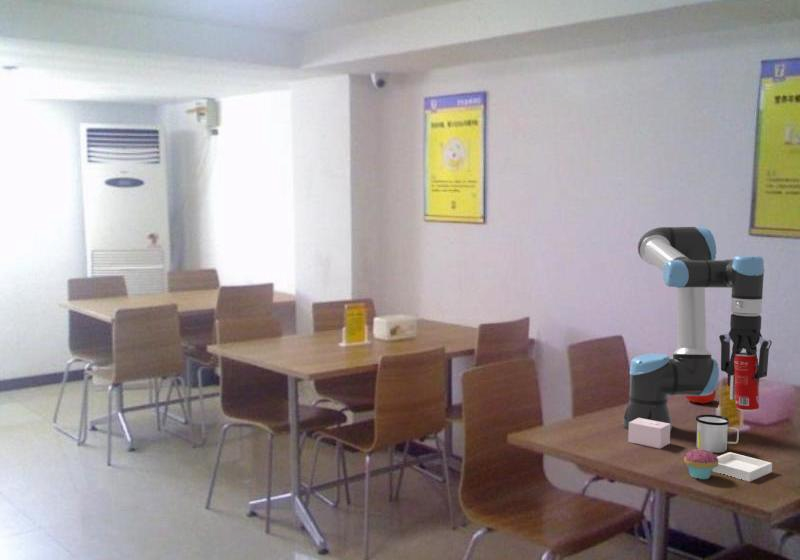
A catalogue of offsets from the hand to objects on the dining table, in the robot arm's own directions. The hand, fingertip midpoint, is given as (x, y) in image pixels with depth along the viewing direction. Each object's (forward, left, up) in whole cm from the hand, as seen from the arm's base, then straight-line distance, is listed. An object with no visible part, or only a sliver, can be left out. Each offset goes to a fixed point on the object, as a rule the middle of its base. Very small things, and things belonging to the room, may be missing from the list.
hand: (742, 400), depth 214 cm
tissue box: (-30, +3, -19) cm, 36 cm away
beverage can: (+1, 0, -2) cm, 3 cm away
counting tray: (0, 0, -19) cm, 19 cm away
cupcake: (-4, -12, -20) cm, 23 cm away
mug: (-14, +13, -20) cm, 27 cm away
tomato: (-47, +60, -20) cm, 79 cm away
